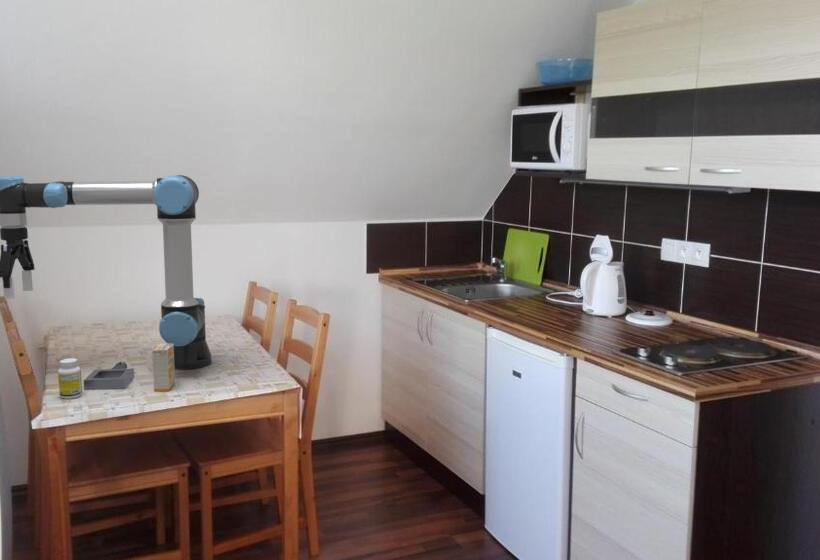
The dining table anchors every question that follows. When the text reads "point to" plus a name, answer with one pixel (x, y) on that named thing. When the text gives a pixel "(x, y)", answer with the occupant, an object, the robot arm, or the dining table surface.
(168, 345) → the supplement box
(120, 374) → the low gray tray
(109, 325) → the dining table surface
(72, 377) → the pill bottle
